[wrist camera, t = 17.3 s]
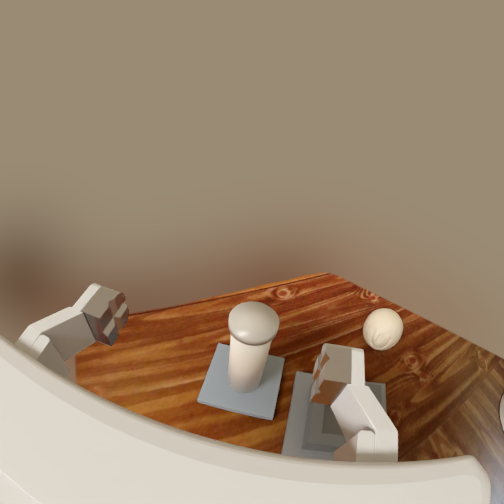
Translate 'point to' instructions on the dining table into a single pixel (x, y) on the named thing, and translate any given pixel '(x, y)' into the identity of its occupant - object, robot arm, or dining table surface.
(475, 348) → the dining table surface
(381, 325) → the cream rounded ball
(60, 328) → the robot arm
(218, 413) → the dining table surface
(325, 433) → the socket collar
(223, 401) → the mat
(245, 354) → the plug
